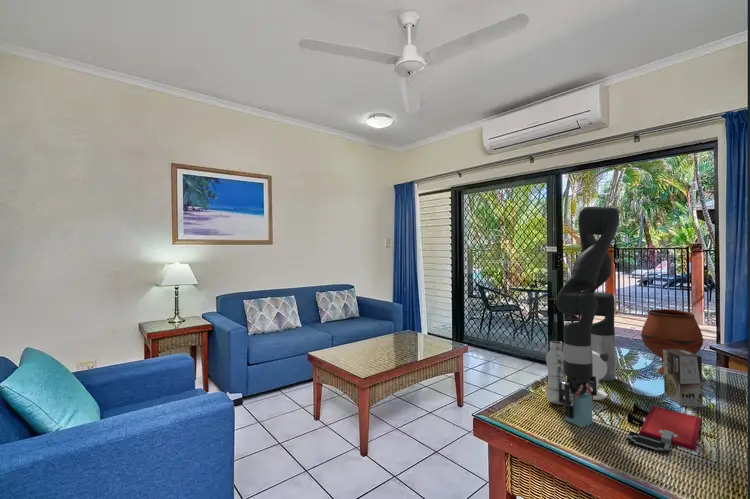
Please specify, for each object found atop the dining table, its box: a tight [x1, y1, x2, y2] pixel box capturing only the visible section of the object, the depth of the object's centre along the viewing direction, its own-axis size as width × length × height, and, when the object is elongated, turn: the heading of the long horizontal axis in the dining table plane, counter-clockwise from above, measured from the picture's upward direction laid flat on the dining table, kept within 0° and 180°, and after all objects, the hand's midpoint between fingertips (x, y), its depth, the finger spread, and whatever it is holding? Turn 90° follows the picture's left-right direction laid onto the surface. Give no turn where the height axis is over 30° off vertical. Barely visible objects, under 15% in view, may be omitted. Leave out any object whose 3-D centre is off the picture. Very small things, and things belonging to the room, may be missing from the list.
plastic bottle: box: [545, 340, 567, 406], centre depth 116 cm, size 6×7×20 cm
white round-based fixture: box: [590, 351, 609, 401], centre depth 124 cm, size 12×11×15 cm
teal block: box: [564, 392, 593, 428], centre depth 104 cm, size 5×5×8 cm
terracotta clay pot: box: [640, 309, 704, 376], centre depth 141 cm, size 19×19×25 cm
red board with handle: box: [625, 402, 702, 454], centre depth 98 cm, size 30×3×15 cm
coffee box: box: [662, 349, 704, 408], centre depth 116 cm, size 9×6×16 cm
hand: (578, 414), depth 104 cm, fingers open, 8 cm apart
